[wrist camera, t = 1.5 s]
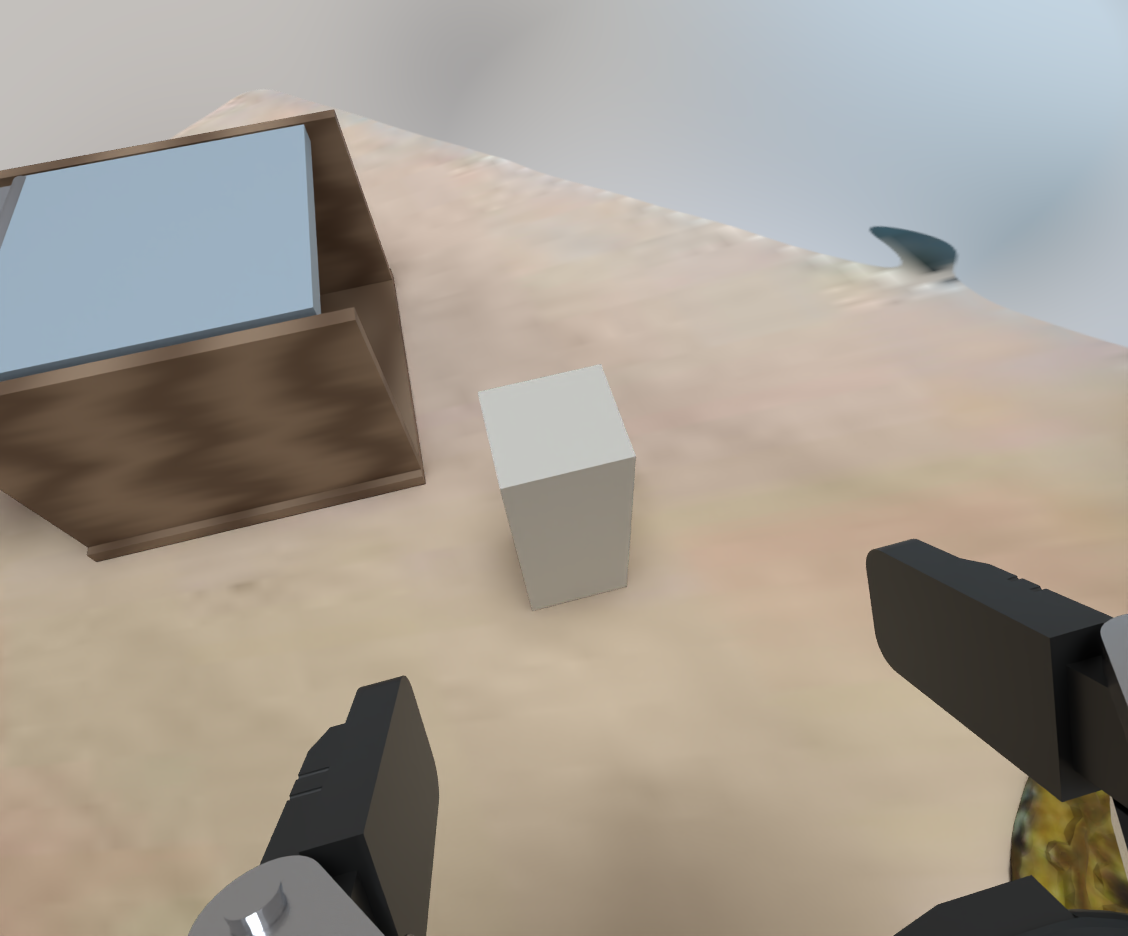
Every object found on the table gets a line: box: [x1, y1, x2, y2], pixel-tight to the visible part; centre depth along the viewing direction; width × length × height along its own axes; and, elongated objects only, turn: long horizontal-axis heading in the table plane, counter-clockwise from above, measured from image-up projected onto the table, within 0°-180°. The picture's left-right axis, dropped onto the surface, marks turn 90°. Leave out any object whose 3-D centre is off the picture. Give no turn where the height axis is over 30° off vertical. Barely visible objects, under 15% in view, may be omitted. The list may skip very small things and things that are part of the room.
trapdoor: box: [0, 124, 321, 382], centre depth 31 cm, size 22×15×3 cm
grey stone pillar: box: [478, 364, 636, 611], centre depth 29 cm, size 5×5×12 cm
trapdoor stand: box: [0, 110, 426, 562], centre depth 36 cm, size 18×18×12 cm
